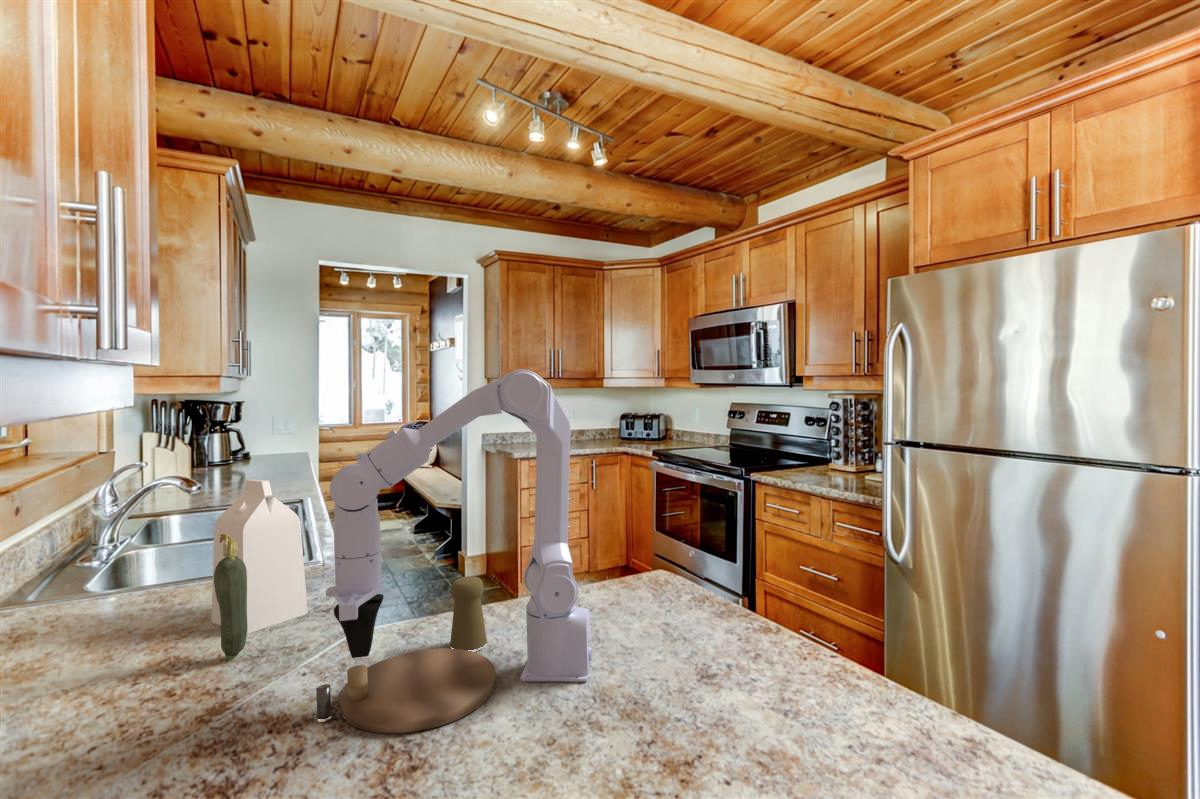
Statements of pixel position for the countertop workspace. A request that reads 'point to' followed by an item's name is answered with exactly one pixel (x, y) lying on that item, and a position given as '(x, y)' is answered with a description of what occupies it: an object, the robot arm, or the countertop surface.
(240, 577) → the vegetable
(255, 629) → the milk
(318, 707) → the dark gray cylinder
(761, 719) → the countertop surface
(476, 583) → the olive pawn piece
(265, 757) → the countertop surface
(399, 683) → the disc
